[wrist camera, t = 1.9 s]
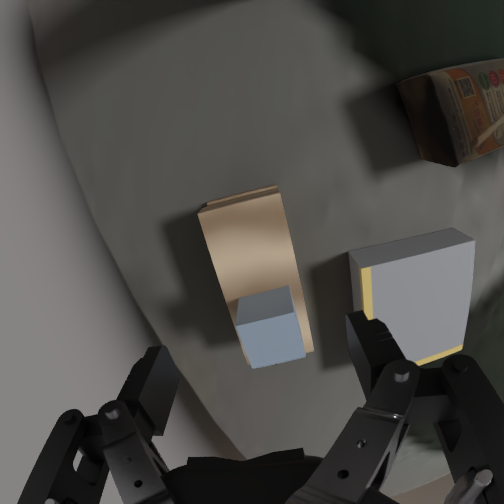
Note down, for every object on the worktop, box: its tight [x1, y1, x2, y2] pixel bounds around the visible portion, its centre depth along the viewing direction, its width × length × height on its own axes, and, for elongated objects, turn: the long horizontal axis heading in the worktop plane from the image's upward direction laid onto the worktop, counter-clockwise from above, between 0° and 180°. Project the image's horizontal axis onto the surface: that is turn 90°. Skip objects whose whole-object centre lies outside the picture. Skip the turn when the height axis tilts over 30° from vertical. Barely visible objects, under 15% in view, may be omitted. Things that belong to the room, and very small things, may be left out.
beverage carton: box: [396, 58, 504, 167], centre depth 19 cm, size 8×19×7 cm, turn 115°
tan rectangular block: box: [198, 184, 314, 364], centre depth 26 cm, size 14×6×5 cm, turn 15°
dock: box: [348, 228, 475, 366], centre depth 27 cm, size 13×12×4 cm
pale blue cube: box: [235, 285, 306, 369], centre depth 22 cm, size 4×4×4 cm
